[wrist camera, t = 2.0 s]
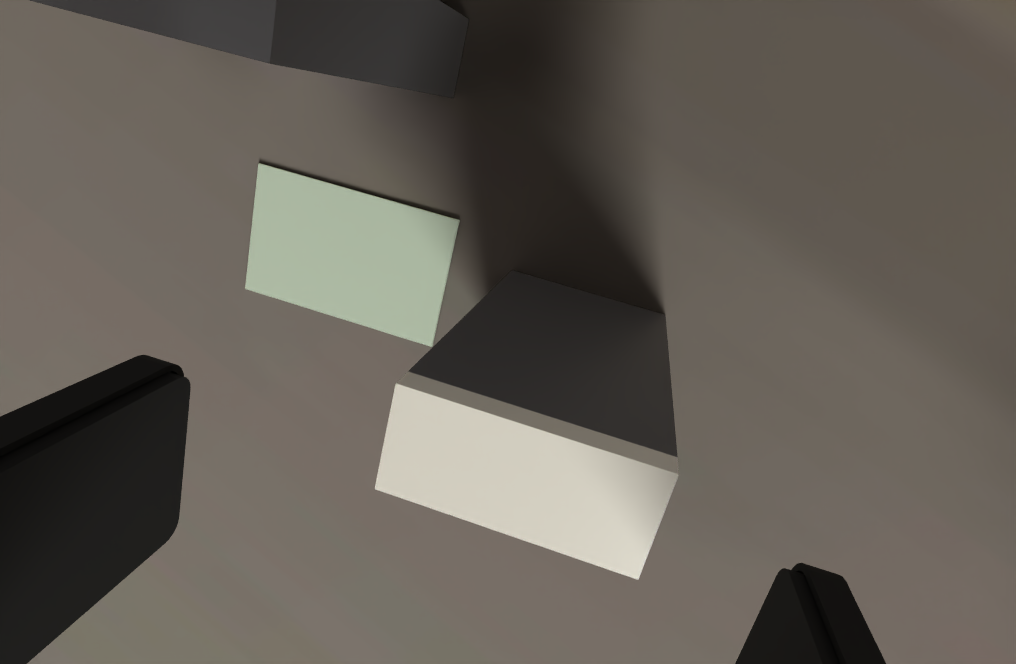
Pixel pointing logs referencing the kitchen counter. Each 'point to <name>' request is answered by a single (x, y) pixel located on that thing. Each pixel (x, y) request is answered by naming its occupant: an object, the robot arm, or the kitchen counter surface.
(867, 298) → the kitchen counter surface
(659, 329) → the domino
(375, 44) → the domino
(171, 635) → the kitchen counter surface
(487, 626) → the kitchen counter surface
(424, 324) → the pad
